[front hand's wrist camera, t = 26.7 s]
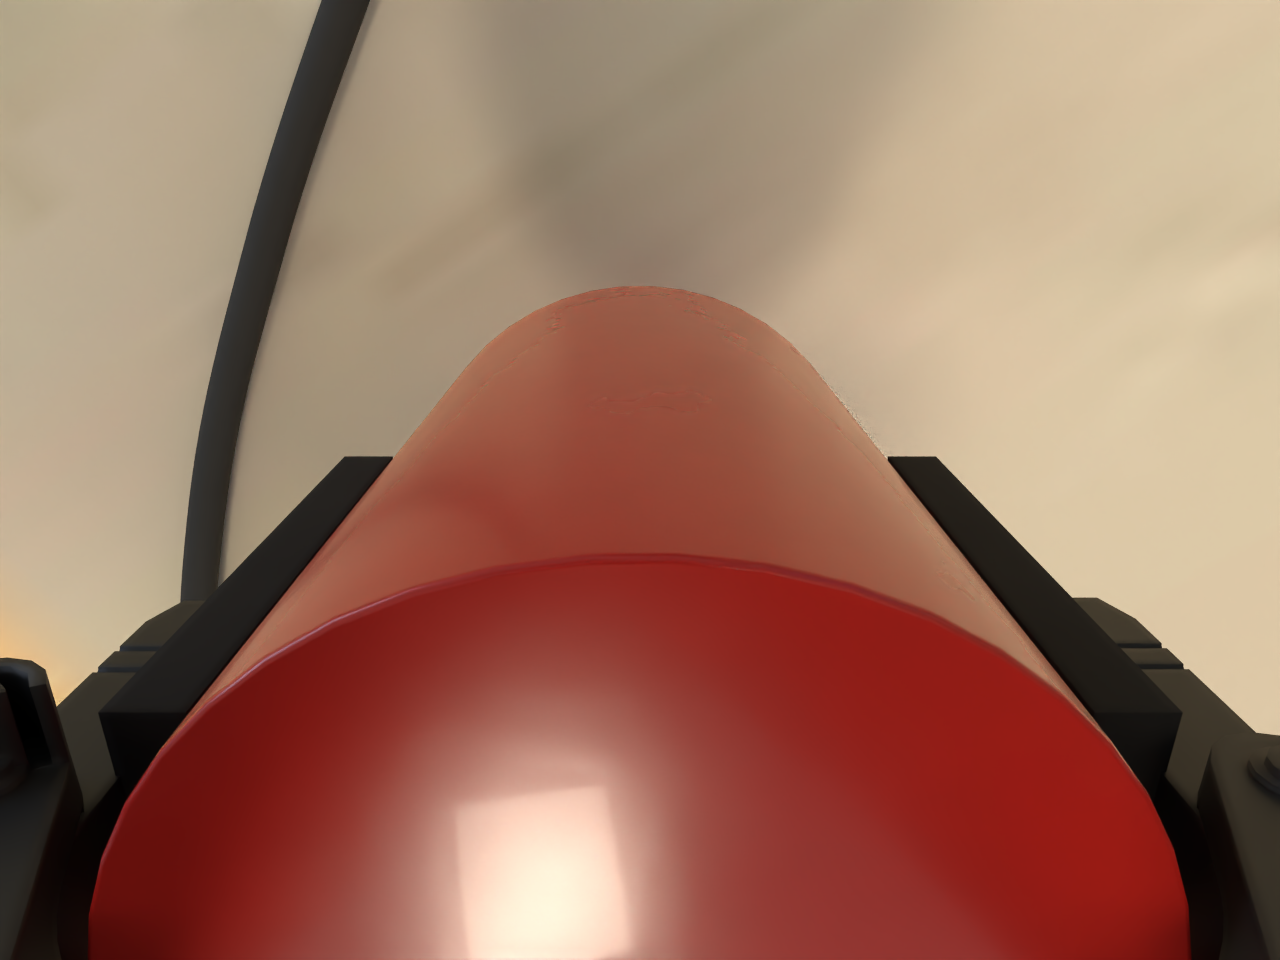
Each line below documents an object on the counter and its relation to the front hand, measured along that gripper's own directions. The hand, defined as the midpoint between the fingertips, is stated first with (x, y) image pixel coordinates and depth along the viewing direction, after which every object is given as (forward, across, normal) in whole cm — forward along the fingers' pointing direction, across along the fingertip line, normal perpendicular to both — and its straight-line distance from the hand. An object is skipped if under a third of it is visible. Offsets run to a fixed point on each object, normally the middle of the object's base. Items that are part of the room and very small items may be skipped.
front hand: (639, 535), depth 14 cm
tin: (+2, 0, 0) cm, 2 cm away
